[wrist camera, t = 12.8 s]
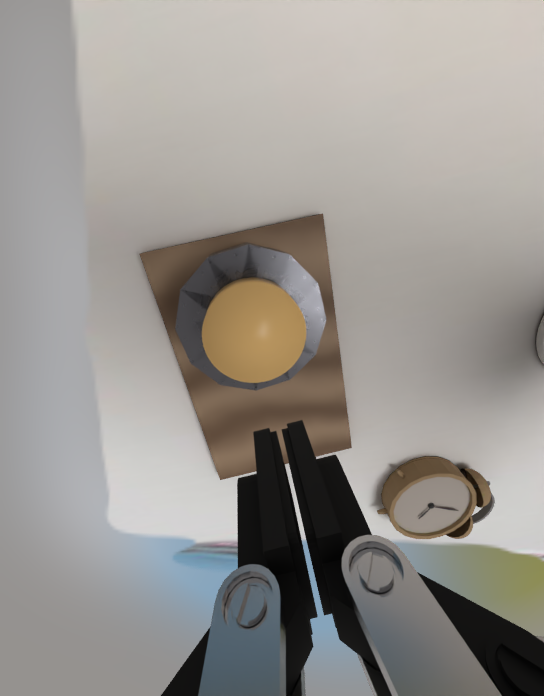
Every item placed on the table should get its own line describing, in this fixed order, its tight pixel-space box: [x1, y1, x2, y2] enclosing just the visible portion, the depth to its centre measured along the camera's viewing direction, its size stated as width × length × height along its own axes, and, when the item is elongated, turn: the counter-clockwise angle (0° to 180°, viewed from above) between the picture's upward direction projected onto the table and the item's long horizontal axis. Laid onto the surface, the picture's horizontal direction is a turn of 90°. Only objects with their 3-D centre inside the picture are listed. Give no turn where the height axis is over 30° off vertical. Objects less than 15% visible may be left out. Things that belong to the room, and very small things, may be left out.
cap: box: [202, 277, 306, 383], centre depth 25 cm, size 8×8×7 cm
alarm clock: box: [377, 456, 495, 539], centre depth 40 cm, size 11×5×15 cm
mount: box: [140, 214, 352, 480], centre depth 31 cm, size 26×16×1 cm, turn 11°
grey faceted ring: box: [175, 242, 326, 391], centre depth 27 cm, size 12×12×4 cm
